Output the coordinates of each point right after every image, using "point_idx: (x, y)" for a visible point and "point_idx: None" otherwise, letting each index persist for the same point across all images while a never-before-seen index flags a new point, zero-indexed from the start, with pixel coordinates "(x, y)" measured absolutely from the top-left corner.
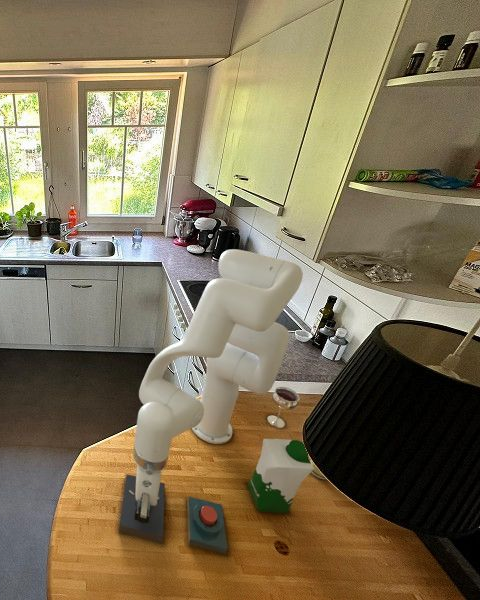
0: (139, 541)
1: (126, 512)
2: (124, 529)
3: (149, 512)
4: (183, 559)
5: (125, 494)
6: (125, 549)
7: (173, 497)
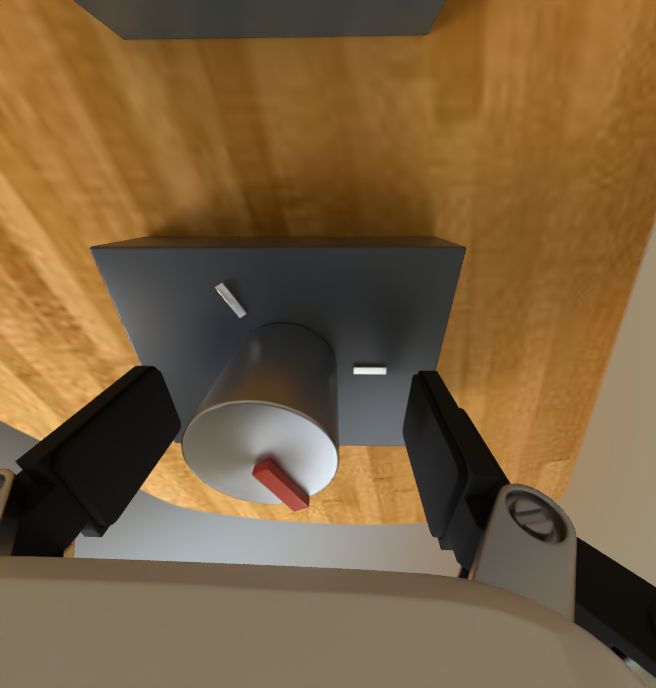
0: None
1: (357, 428)
2: None
3: (491, 481)
4: (518, 85)
5: None
6: (462, 381)
7: (154, 165)
